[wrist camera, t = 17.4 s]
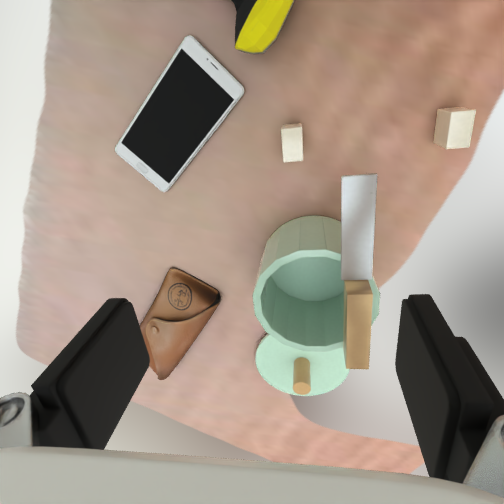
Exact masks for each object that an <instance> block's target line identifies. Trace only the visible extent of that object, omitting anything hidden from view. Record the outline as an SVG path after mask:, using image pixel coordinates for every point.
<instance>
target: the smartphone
mask: <svg viewBox="0 0 504 504" xmlns="http://www.w3.org/2000/svg"><path fill="white" fill-rule="evenodd" d="M243 94H244V87H243V86H242V85H241V84H240V83H239V82H238V81H237V80H236V79H235V78H234V77H233V76H232V75H231V74H230V73H229V72H228V71H227V70H226V69H225V68H224V67H223V66H222V65H221V64H220V63H219V62H218V61H217V60H216V59H215V58H214V57H213V56H212V55H211V54H210V53H209V52H208V51H207V50H206V49H205V48H204V47H203V46H202V45H201V44H200V43H199V42H198V41H197V40H196V39H195V38H194V37H193V36H191V35H188V36H186V37H185V38H184V40H183V41H182V43H181V44H180V46H179V48H178V49H177V51H176V52H175V54H174V55H173V57H172V59H171V60H170V62H169V63H168V65H167V66H166V68H165V70H164V71H163V73H162V74H161V76H160V77H159V79H158V81H157V82H156V84H155V85H154V87H153V88H152V90H151V92H150V93H149V95H148V96H147V98H146V99H145V101H144V103H143V104H142V106H141V107H140V109H139V110H138V112H137V114H136V115H135V117H134V118H133V120H132V121H131V123H130V125H129V126H128V128H127V129H126V131H125V132H124V134H123V136H122V137H121V139H120V140H119V142H118V144H117V145H116V147H115V152H116V153H117V154H118V155H119V156H120V157H121V158H123V159H124V160H125V161H126V162H127V163H128V164H130V165H131V166H132V167H133V168H134V169H136V170H137V171H138V172H139V173H140V174H142V175H143V176H144V177H145V178H146V179H147V180H149V181H150V182H151V183H152V184H153V185H155V186H156V187H157V188H158V189H159V190H160V191H162V192H167V191H168V190H169V189H170V187H171V186H172V185H173V184H174V182H175V181H176V180H177V178H178V177H179V176H180V175H181V173H182V172H183V171H184V170H185V168H186V167H187V166H188V164H189V163H190V162H191V161H192V159H193V158H194V157H195V155H196V154H197V153H198V152H199V150H200V149H201V148H202V147H203V145H204V144H205V143H206V141H207V140H208V139H209V138H210V137H211V136H212V134H213V132H214V131H215V130H216V129H217V128H218V127H219V125H220V124H221V123H222V122H223V120H224V119H225V118H226V116H227V115H228V113H229V112H230V111H231V109H232V108H233V107H234V106H235V104H236V103H237V102H238V101H239V99H240V98H241V97H242V95H243Z"/></svg>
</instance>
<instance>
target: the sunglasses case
mask: <svg viewBox="0 0 504 504" xmlns="http://www.w3.org/2000/svg"><path fill="white" fill-rule="evenodd" d="M220 300H221V297H220V294H219V292H218V291H217V290H216V289H215V288H213V287H211V286H210V285H208V284H206V283H205V282H203V281H201V280H199V279H197V278H196V277H194V276H192V275H190V274H187V273H185V272H183V271H181V270H179V269H177V268H170V269H169V271H168V273H167V275H166V277H165V279H164V281H163V283H162V286H161V288H160V290H159V293H158V294H157V297H156V298H155V300H154V302H153V304H152V306H151V307H150V309H149V311H148V313H147V314H146V316H145V318H144V320H143V321H142V323H141V325H140V329H141V332H142V335H143V338H144V341H145V344H146V347H147V350H148V353H149V357H150V363H149V366H150V367H151V368H152V369H153V371H154V372H155V373H156V374H157V375H158V379H159V380H164V379H166V378H167V377H168V376H169V375H170V374H171V372H172V371H173V370H174V368H175V367H176V366H177V365H178V363H179V362H180V360H181V359H182V358H183V356H184V355H185V353H186V352H187V350H188V349H189V348H190V346H191V345H192V343H193V342H194V340H195V339H196V338H197V336H198V335H199V333H200V332H201V331H202V329H203V328H204V326H205V325H206V323H207V322H208V320H209V319H210V317H211V316H212V314H213V313H214V311H215V309H216V308H217V306H218V305H219V303H220Z"/></svg>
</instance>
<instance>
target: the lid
mask: <svg viewBox="0 0 504 504" xmlns="http://www.w3.org/2000/svg"><path fill="white" fill-rule="evenodd" d="M256 366H257V368H258V371H259V373H260V374H261V376H262V377H263V378H264V379H265V380H266V381H267V382H268V383H269V384H270V385H271V386H273V387H275V388H276V389H278V390H280V391H283V392H285V393H289V394H292V395H298V396H314V395H320V394H323V393H326V392H329V391H331V390H333V389H335V388H336V387H338V386H339V385H340V384H341V383H342V382H343V381H344V380H345V378H346V377H347V375H348V373H349V370H350V369H346V365H345V358H344V351H343V347H342V348H338V349H335V350H331V351H327V352H321V351H302V350H299V349H296V348H293V347H290V346H287V345H284V344H282V343H281V342H279V341H278V340H277V339H275V338H274V337H272V336H271V335H270V334H267V335H266V336H265V337H264V338H263V339H262V340H261V342H260V343H259V345H258V347H257V351H256Z"/></svg>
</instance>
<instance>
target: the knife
mask: <svg viewBox="0 0 504 504" xmlns="http://www.w3.org/2000/svg"><path fill="white" fill-rule="evenodd" d="M376 192H377V173H371V174H358V175H345V176H341V280H344V324H343V351H344V358H345V365H346V369H369V355H370V338H371V321H372V303H373V293H372V290H371V287H370V284H369V281H368V280H372V266H373V247H374V229H375V210H376Z"/></svg>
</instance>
